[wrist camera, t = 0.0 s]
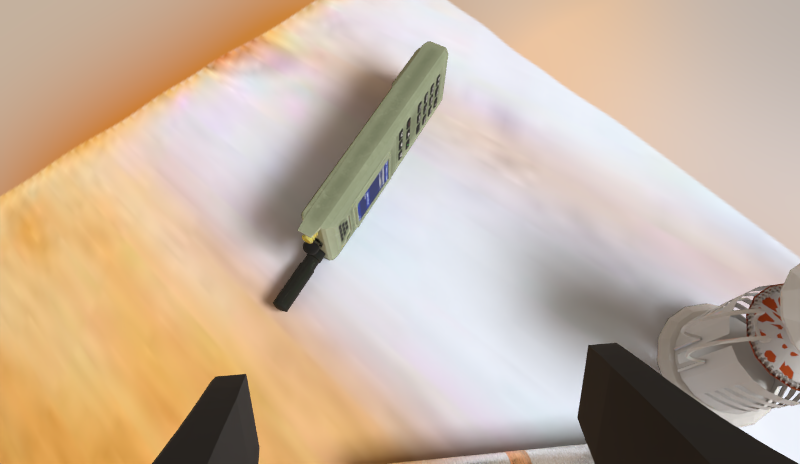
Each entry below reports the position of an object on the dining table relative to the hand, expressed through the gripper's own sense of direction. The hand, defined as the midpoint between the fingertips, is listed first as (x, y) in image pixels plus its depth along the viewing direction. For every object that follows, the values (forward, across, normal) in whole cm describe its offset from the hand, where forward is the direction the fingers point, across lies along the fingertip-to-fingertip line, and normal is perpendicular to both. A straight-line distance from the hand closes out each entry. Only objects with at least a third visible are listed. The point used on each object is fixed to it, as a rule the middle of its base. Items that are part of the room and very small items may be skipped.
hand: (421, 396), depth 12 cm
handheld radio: (+38, 0, +11) cm, 39 cm away
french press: (+24, -26, +22) cm, 42 cm away
